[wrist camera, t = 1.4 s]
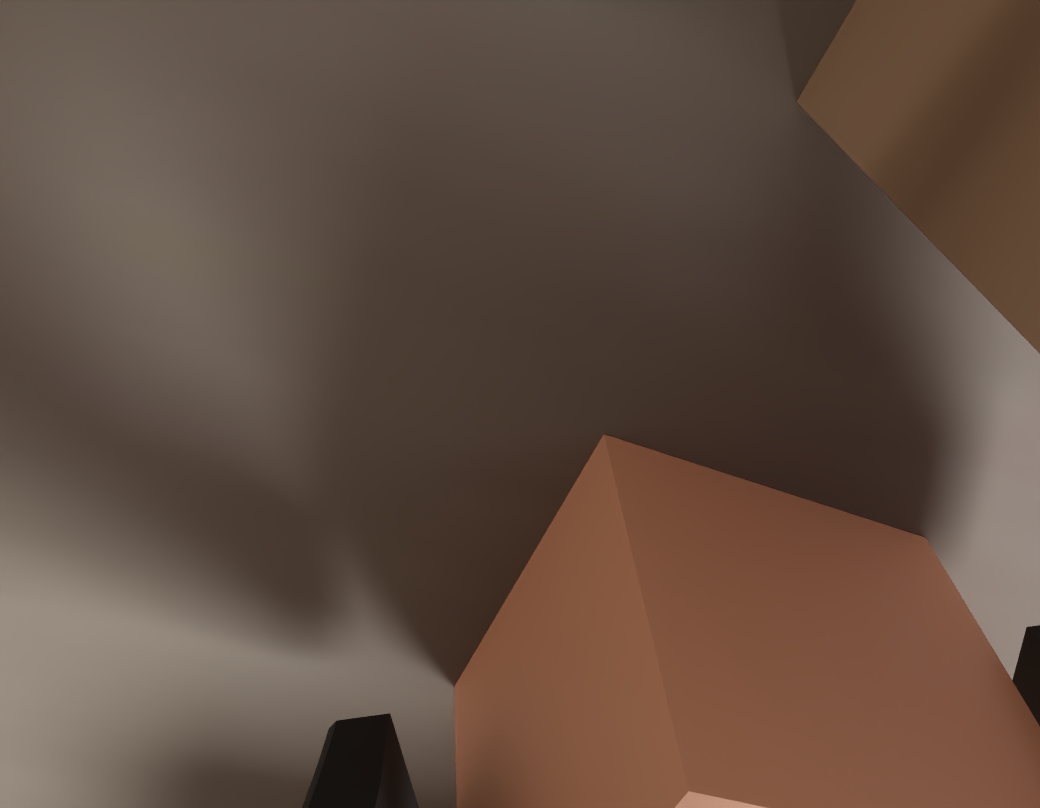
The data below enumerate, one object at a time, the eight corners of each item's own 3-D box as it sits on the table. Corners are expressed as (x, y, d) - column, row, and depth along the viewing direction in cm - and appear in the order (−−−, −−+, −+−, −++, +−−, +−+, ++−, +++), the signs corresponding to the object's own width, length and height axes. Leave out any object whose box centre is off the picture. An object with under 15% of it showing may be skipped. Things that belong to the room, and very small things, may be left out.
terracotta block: (922, 533, 12) (1135, 884, 8) (737, 746, 14) (841, 1098, 11) (603, 430, 11) (689, 791, 7) (453, 682, 13) (461, 1054, 9)
